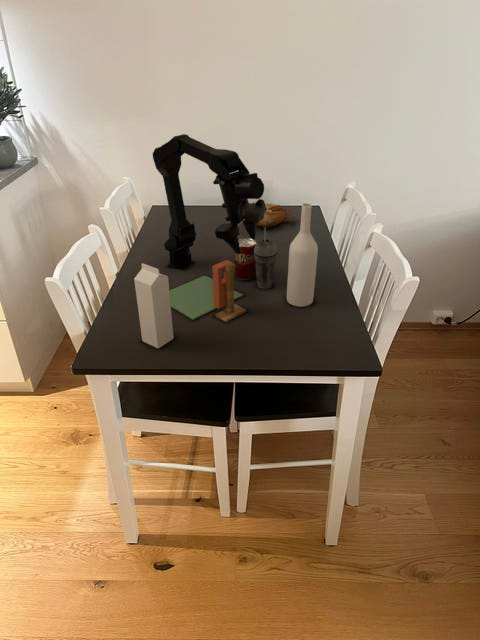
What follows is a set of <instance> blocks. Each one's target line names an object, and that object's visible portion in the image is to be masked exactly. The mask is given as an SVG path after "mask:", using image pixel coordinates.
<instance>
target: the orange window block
mask: <svg viewBox="0 0 480 640" xmlns="http://www.w3.org/2000/svg"><path fill="white" fill-rule="evenodd" d="M229 262H231V263H233V262H232V261H230V260H228V259H226V260H223V261H221V262H219V263H216V264H213V265H212V267H211V268H212V279H213V297H214V306H215V307H216V308H217V309H219V310H220V309H222V308H225V307H227V306H226V273H224V272H223V278H222V271H221V270H224V269H226V267H224V264H227V263H229Z"/></svg>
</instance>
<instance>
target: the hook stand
mask: <svg viewBox="0 0 480 640" xmlns="http://www.w3.org/2000/svg"><path fill="white" fill-rule="evenodd" d="M231 262H232V261H230V262H229V263H227V264H224V267H226V269H224V270H221V273H223V274H224V273H226V306H225V307H226V308H224V309H223V310H221V311H219V312H217V313H215V318H218V319H219V320H222V321H223V322H225V323H227V322H229V321H231V320H233V319H235V318H237V317H239V316H241V315H243V314H245V313H247V309H246V308H244V307H242V306H240V305H238V304H236V303H235V300H234V290H235V273H234V267H235V264H234V262H232V263H231Z"/></svg>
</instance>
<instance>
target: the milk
mask: <svg viewBox="0 0 480 640" xmlns="http://www.w3.org/2000/svg"><path fill="white" fill-rule="evenodd" d="M169 283H170V282H169V276H167V275H165V274H162V273H160V270H159V268H156V267H154V266H152V265H149V264H146V263H144V262H142V263H141V269H140V271H138V273H137V274H136V276H135V277H134V287H135V288H134V289H135V297H136V303H137V313H138V319H139V327H140V334H141V341H142V342H143V343H145V344H147V345H149V346H152V347H153V348H156V349H160V348H162V347H163V346H164V345H166V344H167V343H169V342H170V341H173V340H174V328H173V327H174V326H173V318H172V317H173V316H172V307H171V304H170V293H169V290H170V284H169Z"/></svg>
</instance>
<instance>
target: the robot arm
mask: <svg viewBox="0 0 480 640" xmlns="http://www.w3.org/2000/svg"><path fill="white" fill-rule="evenodd" d="M184 154H186V155H188V156H189V157H191V158H194V159H196V160H198V161H200V162H202V163H204V164H206V165H207V166H208V168H209V170H210V171H211V172H213V173H214V174H215V179H214V180H213V181H212V184H213V185H219V189H220V194H221V196H222V200H223V203H222V204H221V208H222V209H225V210H226V214H227V216H226V217H225V221H226V222H230V223H221V224H220V225H219V226H218V227H216V229H215V230H214V234H215V237H216V239H219V240H223V241H224V242H225V243H226V244H227V245H228V246H229V247H230V248H231V249H232V250H233V252H234V251H235V252H236V253H237V254H240V253H241V252H240V246H239V241H238V239H239V238H240V236H241V232H240V228H239V227H240V226H239V225H241V224H243V226H244V228H245V230H246V232H247V235H248V236H249V238H250V239H252V240H255V241H256V234H257V233H256V232H257V231H256V230H257V225H256V223H259V222H260V221H261V220H262V219H263V218H264V212H265V211H266V210H267V209H266V205H265V204H266V202H265V200H264V199H262V197H263V195H264V194H265V193H264V192H265V184H264V182H263V180H262V179H261V178H260V177H259V175H258V172H251V173H250V171H249V169H248V167H246V165H245V164H244V162H243V161H242V159H241V158H240V156H239V154H238V152H236V151H234V150H230V149H225V148H224V149H223V148H215V147H213V146H210V145H208V144H206V143H204V142H202V141H200V140H197V139H195V138H193V137H190V135H188V134H185V133H183V134H179V135H174V136H173V137H172V138H171V139H170V140H168V141H167V142H165V143H163V144H162V145H161V146H157V147H155V148H154V150H153V152H152V159H153V163H154V167H155V169H156V170H157V172H159V174H160V175H161V176H162V181H163V184H164V190H165V194H166V200H167V206H168V210H169V216H170V220H171V222H170V225H169V228H168V239H167V240H166V241H165V242H164V243H163V247H164V249H165V251H167V252H169V264H168V265H167V267H168V268H175V269H179V270H187V268H188V267H189V266H191V264H193V260H192V252H191V251H190V249H191V248H190V247H193V245H194V243H195V241H196V236H197V233H196V228H195V227H196V226H195V223H191V222H190V221H189V220H188V218H187V214H186V208H185V201H184V197H183V196H184V195H183V191H182V185H181V180H180V175H179V174H180V170H181V167H182V156H183V155H184ZM249 200H256V201H255V202H249Z"/></svg>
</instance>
